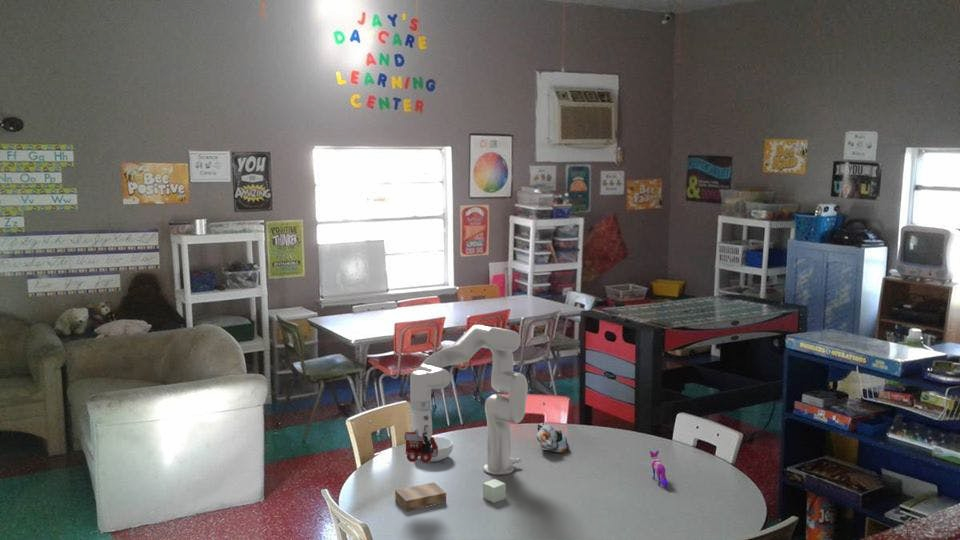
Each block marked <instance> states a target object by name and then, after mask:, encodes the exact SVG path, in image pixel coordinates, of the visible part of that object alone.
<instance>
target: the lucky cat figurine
mask: <svg viewBox="0 0 960 540" xmlns="http://www.w3.org/2000/svg"><path fill="white" fill-rule="evenodd" d="M536 440H537V441H538V443H539V444H540V448H541V450H542V451H549V452H550V451H551V452H556V453H559V454H564V453H567V452H568V451H569V450H571V447H570V444H569V443H568V440H567V436H565V434H564V433H563V432H562V430H561V429H558V430H557V429H555V428H554V427H553V426H552V425H549V424H545V423H544V422H541V423H540V424H537V434H536Z"/></svg>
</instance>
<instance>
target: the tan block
mask: <svg viewBox="0 0 960 540" xmlns="http://www.w3.org/2000/svg"><path fill="white" fill-rule="evenodd" d="M394 492H395V493H394V499H395V501H396V502H397V503H398V505H399V506H401V507H402V509H403V510H404V509H405V510H406V511H405V510H404V511H405V512H410V511H409V510H411V511H415V510H414V509H416V510H418V509H417V508H420V509H423V508H422V507H425V508H427V507H426V506H430V505H434V504H435V505H434V506H437V505H436V504H439V505H441V504H440V503H443V504H445V503H444V502H446V503H447V492H446V491H445V490H444V489H443V488H441V486H440V485H438V484H437V483H435V482H429V483H424V484H419V485H418V484H417V485H414V486H409V487H404V488H397V489H395V491H394ZM430 507H431V506H430Z"/></svg>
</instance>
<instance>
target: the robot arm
mask: <svg viewBox="0 0 960 540" xmlns="http://www.w3.org/2000/svg"><path fill="white" fill-rule="evenodd" d="M521 341H522V340H521V336H520V334H519V333H518V332H517V331H515V330H511V329H505V328H502V327H498V326H487V325H483V324H474V325H472V326H470V328H469V329H468V330H466V331H465V332H464V333H463V334H462V335H461V336H460V337H459V338H458V339H457V340H456V341H455V342H454V343H453V344H452V345H450V346H447V347H444V348H443V349H440V350H439V351H435V352H434V353H432V354H431V355H430V356H428V357H427V358H426V359H425V360H423V362H421V364H420V365H419V366H418V368H417V370H414V371H412V372H411V374H410V376H409V379H410V380H409V381H410V388H409V389H410V391H409V393H410V395H409V396H410V410H411V412H410V429H411V432H415V433H416V434H417V435H419V436H420V437H421V438H422V442H423V443H422V454H426V453H430V443H431V437H433V436H432V435H433V420H432V419H433V418H432V411H431V408H432V399H431V398H432V397H431V395H432V390H441V389H445V388H446V387H448V386H449V385H450V383H451V380H452V375H451V373H450V372H449V370H447V369H445V367H449V366H455V365H461V364H464V363H467V362H469V360H471V358H472V357H473V356H474V355H475V354H476V353H477V352H478V351H479V350H480V349H482V348H483V349H488V350H490V351H491V354H492V367H491V376H490V377H491V378H490V379H491V380H490V386H491V388H492V389H493V391H495V392H498V393H501V394H492V395H490V396H488V397H487V398H486V400H485V402H484V413H485V417H486V427H487V428H486V431H487V432H486V434H487V435H486V436H487V437H486V442H487V443H486V444H487V446H486V448H487V450H486V451H487V452H486V454H487V456H486V457H487V458H486V460H487V461H486V463H485V464H483V471H484V472H485V473H487V474H489V475H492V476H493V475H494V476H505V475H510V474H511V473H513V472H514V470H515V467H514V465H515V464H519V463H521V461H522V460H521V458H520V457H517V458H515V457H514V456H512V457H511V425H510V423H511V424H519V423H520V422H521V421H523V419H524V417H525V414H526V409H527V398H528V389H529V387H528V386H529V385H528V380H527V378H526V376H525V375H524V374H523V373H521V372H517V371H514V352H515V351H517V350H518V349H519V347H520V346H521ZM502 394H505V395H508V396H505V395H502ZM423 434H424V435H423ZM424 437H427V438H425V439H424Z"/></svg>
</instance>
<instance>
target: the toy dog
mask: <svg viewBox="0 0 960 540" xmlns="http://www.w3.org/2000/svg"><path fill="white" fill-rule="evenodd" d="M659 452H660V451H659V450H657V451H655V452H653V451H651V450H650V451H649V453H650V458H651V468H652V473H653V476H652V479H653V480H654V479H655V478H656V477H657V478H658V483H657V485H658V486H660V485H661V484H662V486H663V487H665V488H667V487H668V486H669V484H668V479H667V477H666V467H665V466H664V465H663V464H662V462H661V461H660V459H659V457H658V455H659Z"/></svg>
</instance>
